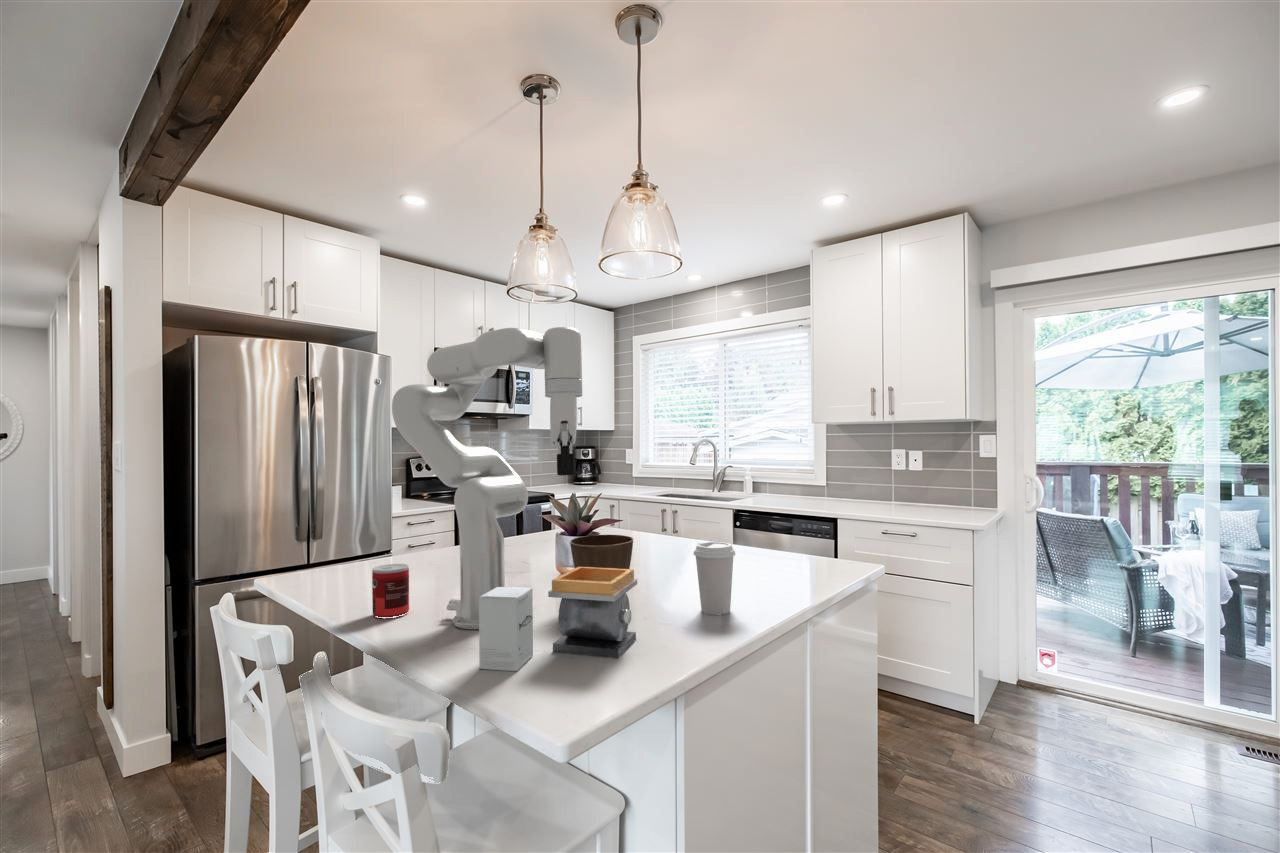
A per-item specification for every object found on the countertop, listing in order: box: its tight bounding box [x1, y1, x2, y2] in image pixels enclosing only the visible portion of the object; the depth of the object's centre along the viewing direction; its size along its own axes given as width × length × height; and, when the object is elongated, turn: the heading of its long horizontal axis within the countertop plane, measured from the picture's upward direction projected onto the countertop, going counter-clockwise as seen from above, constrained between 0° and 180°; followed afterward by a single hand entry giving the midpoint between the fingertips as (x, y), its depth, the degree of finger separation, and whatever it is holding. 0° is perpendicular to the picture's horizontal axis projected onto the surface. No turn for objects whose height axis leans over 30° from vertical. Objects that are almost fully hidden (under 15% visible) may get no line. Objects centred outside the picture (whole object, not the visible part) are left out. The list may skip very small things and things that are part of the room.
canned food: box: [371, 563, 410, 617], centre depth 134 cm, size 8×8×11 cm
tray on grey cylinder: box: [547, 567, 638, 659], centre depth 111 cm, size 14×13×14 cm
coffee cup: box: [693, 541, 736, 616], centre depth 132 cm, size 10×10×15 cm
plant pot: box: [569, 534, 634, 569], centre depth 136 cm, size 15×15×16 cm
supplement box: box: [478, 586, 534, 672], centre depth 103 cm, size 7×7×13 cm
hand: (565, 473), depth 117 cm, fingers open, 9 cm apart
